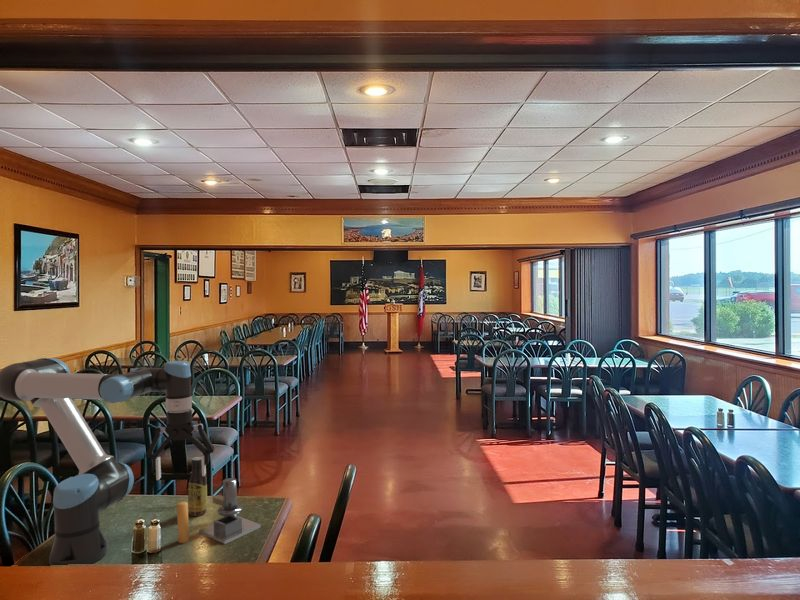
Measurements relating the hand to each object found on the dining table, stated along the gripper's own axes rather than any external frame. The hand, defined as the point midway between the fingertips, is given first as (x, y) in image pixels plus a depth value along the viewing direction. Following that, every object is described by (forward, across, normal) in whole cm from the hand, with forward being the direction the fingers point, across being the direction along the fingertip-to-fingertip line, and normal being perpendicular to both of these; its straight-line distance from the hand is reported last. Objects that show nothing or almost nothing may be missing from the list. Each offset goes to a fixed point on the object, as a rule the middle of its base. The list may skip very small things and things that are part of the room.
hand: (181, 476), depth 173 cm
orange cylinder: (+20, 0, 0) cm, 21 cm away
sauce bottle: (+21, +1, +21) cm, 30 cm away
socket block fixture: (+21, +12, +6) cm, 25 cm away
